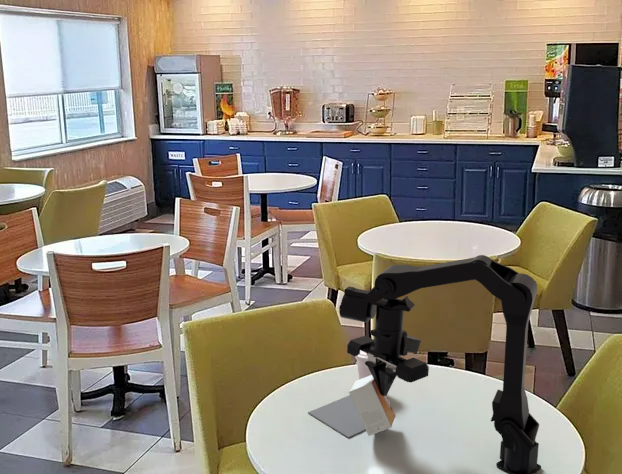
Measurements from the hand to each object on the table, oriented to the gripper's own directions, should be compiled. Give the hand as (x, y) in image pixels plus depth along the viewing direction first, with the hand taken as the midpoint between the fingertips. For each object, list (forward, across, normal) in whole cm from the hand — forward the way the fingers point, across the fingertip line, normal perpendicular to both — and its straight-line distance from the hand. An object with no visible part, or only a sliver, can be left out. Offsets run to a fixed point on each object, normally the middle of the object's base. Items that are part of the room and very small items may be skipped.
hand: (383, 395), depth 148 cm
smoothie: (+10, +18, -14) cm, 25 cm away
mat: (+10, +12, -2) cm, 16 cm away
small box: (+8, +1, -2) cm, 8 cm away
